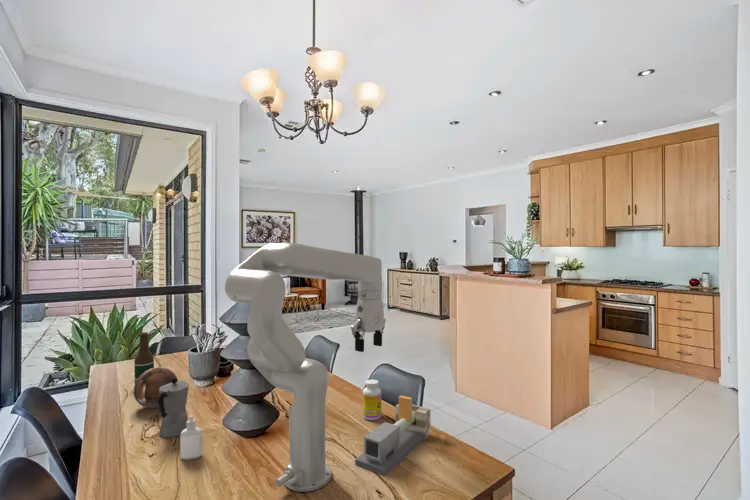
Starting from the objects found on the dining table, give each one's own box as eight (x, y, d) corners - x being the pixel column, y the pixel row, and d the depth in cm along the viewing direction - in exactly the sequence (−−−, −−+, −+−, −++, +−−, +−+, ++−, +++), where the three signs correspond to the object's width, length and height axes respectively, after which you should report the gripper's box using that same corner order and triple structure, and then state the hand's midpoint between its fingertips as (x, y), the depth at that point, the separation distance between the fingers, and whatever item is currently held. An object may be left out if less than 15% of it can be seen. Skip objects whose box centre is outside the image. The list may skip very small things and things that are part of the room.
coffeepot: (171, 422, 136) (170, 371, 136) (197, 422, 136) (197, 371, 136) (144, 444, 120) (144, 387, 120) (174, 444, 120) (174, 387, 120)
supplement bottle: (379, 421, 136) (379, 385, 135) (361, 420, 137) (360, 384, 137) (382, 413, 142) (382, 379, 142) (365, 412, 143) (365, 377, 143)
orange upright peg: (394, 442, 114) (394, 409, 114) (383, 438, 116) (383, 406, 116) (419, 421, 127) (419, 392, 127) (408, 418, 129) (408, 390, 129)
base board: (385, 476, 103) (385, 470, 103) (355, 464, 109) (355, 459, 109) (426, 437, 124) (426, 432, 124) (399, 429, 130) (399, 425, 130)
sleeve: (379, 465, 106) (379, 442, 106) (364, 460, 108) (364, 436, 108) (399, 448, 115) (399, 426, 115) (384, 443, 118) (384, 422, 118)
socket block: (425, 439, 123) (425, 413, 123) (395, 430, 129) (395, 405, 129) (430, 434, 126) (430, 408, 126) (401, 426, 132) (401, 401, 132)
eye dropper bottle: (193, 462, 110) (193, 420, 110) (177, 459, 112) (177, 418, 112) (204, 454, 115) (204, 414, 115) (189, 451, 116) (188, 411, 116)
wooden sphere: (166, 396, 159) (165, 360, 159) (186, 404, 151) (185, 366, 151) (126, 408, 147) (126, 369, 147) (145, 418, 139) (145, 377, 138)
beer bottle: (158, 386, 171) (157, 332, 171) (139, 391, 165) (139, 335, 164) (148, 382, 175) (148, 330, 175) (130, 388, 169) (130, 333, 169)
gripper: (362, 298, 116) (361, 355, 116) (393, 294, 130) (393, 345, 129) (343, 296, 120) (342, 351, 120) (375, 292, 134) (375, 342, 134)
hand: (368, 348), depth 125 cm, fingers open, 9 cm apart
